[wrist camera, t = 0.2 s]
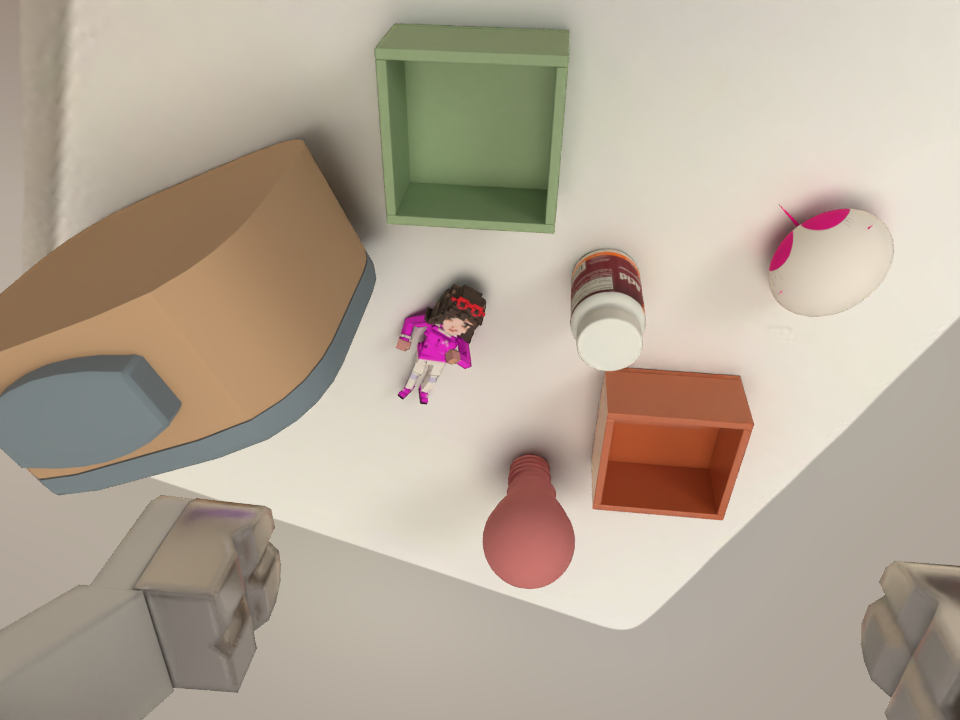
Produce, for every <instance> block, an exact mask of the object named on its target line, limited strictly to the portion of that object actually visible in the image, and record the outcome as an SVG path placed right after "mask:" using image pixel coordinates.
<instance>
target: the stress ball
mask: <svg viewBox="0 0 960 720" xmlns="http://www.w3.org/2000/svg"><path fill="white" fill-rule="evenodd" d="M780 207H781V206H780ZM781 208H782V207H781ZM782 209H783V208H782ZM783 210H784V209H783ZM784 211H785V210H784ZM785 213H786V214H787V215H788V216H789V218H790V219H791V220H792V221H793V223H794V224H795V225H796V226H797V227H796V228H795V229H794V230H793V231H791V232H790V233H789V234H788V235H787V236H786V237H785V239H784V240H783V241H782V242H781V244H780V245H779V247H778V248H777V250H776V252H775V253H774V256H773V258H772V260H771V264H770V268H769V286H770V289H771V292H772V294H773V296H774V297H775V299H776V300H777V302H778V303H779V304H780V305H781V306H783V307H784V308H785V309H787V310H789V311H790V312H793V313H795V314H799V315H803V316H809V317H820V316H828V315H833V314H836V313H839V312H842V311H845V310H847V309H849V308H851V307H853V306H855V305H857V304H858V303H860V302H861V301H863V300H864V299H865V298H867V297H868V296H869V295H870V294H871V293H873V292H874V291H875V289H876V288H877V287H878V286H879V285H880V284H881V282H882V281H883V280H884V278H885V276H886V275H887V273H888V271H889V269H890V266H891V263H892V260H893V254H894V244H893V238H892V235H891V233H890V231H889V229H888V227H887V226H886V225H885V223H884V222H883V221H882V220H881V219H879V218H878V217H876V216H875V215H873V214H871V213H869V212H866V211H862V210H857V209H837V210H832V211H828V212H824V213H822V214H819V215H816V216H814V217H812V218H810V219H808V220H807V221H805V222H803V223H802V224H799V223H798V222H797V221H796V220H795V219H794V218H793V217H792V216H791V215H790V214H788V213H787V212H786V211H785Z"/></svg>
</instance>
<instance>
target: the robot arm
mask: <svg viewBox="0 0 960 720" xmlns="http://www.w3.org/2000/svg"><path fill="white" fill-rule="evenodd" d="M274 528H275V526H274V521H273V516H272V511H271V509H270V508H268V507H266V506H260V505H251V504H242V503H233V502H224V501H215V500H207V499H198V498H196V499H190V498H182V497H173V496H165V495H160V496H159V497H157V498H155V499H154V500H152V501H151V502H150V503H149V504H148V506H147V507H146V509H145V510H144V511H143V513H142V514H141V515H140V517H139V518H138V519H137V521H136V522H135V524H134V525H133V527H132V528H131V529H130V530H129V532H128V533H127V535H126V536H125V537H124V539H123V540H122V542H121V543H120V544H119V546H118V547H117V549H116V550H115V551H114V553H113V554H112V556H111V557H110V558H109V560H108V561H107V562H106V564H105V565H104V567H103V568H102V569H101V571H100V572H99V573H98V575H97V576H96V578H95V579H94V581H93V582H92V583H91V585H90V586H88V585H78V586H76V587H74V588H72V589H71V590H69V591H67V592H65V593H64V594H62V595H60V596H59V597H57V598H55V599H53V600H52V601H50V602H48V603H46V604H45V605H43V606H42V607H39V608H38V609H36V610H34V611H33V612H31V613H29V614H27V615H26V616H24V617H22V618H20V619H19V620H17V621H15V622H14V623H12V624H10V625H8V626H7V627H5V628H3V629H1V630H0V720H142V719H144V718H145V717H146V716H147V715H148V714H149V713H150V712H151V711H152V710H154V709H155V708H156V707H157V706H158V705H159V704H160V703H161V702H163V701H164V700H165V699H166V698H167V697H168V696H169V695H170V694H172V693H173V691H174V690H173V688H185V689H199V690H211V691H223V692H224V691H225V692H236V693H237V692H238V691H239V689H240V686H241V684H242V682H243V679H244V677H245V675H246V672H247V670H248V668H249V665H250V663H251V661H252V658H253V656H254V653H255V651H256V649H257V647H256V642H255V637H254V631H255V630H256V629H257V628H259V627H260V626H261V625H263V624H264V623H265V622H267V621H268V620H269V618H270V616H271V613H272V611H273V608H274V606H275V603H276V599H277V595H278V589H279V585H280V580H281V563H280V555H279V551H278V550H277V549H276V548H275V547H274V546H273V545H272V544H271V543H270V542H269V539H270V537H271V535H272V533H273V530H274ZM879 582H880V584H881V587H882V589H883V591H884V593H885V596H883V597H882V598H880V599H878V600H877V601H875V602H874V603H872V604H871V605H869V606H868V609H867V611H866V614H865V616H864V619H863V621H862V627H861V648H862V653H863V658H864V662H865V665H866V667H867V670H868V672H869V675H870V678H871V680H872V681H873V682H874V683H875V684H877V685H878V686H879V687H880V688H881V689H882V690H883V691H884V692H885V693H886V694H888V695H889V696H890V697H891V698H890V701H889V704H888V706H887V708H886V710H885V715H886V717H887V720H960V566H953V565H940V564H927V563H914V562H902V561H893V562H892V563H891V564H890V565H888V566H887V567H886V568H885V570H884V572H883V574H882V577H881V579H880V581H879Z"/></svg>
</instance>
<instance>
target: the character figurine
mask: <svg viewBox="0 0 960 720" xmlns="http://www.w3.org/2000/svg"><path fill="white" fill-rule="evenodd" d="M485 305H486V300H485V299H484V298H482V293H480V292H478V291H476V290H474V289H472V288H470V287H468V286H466V285H464V286H462V287H460V286H458V285H456V284H454V285H453V287H452V288H451V290H449V289H448V290H447V292H445V293H444V295H443V296H442V297H441V299H440V300H439V302H438V303H437V304H436V306H435V307H434V308H433V309H431V308H429V307H428V308H427V311H426V314H424V315H418V316H412V317H408V318H406V319H405V322H404V325H403V328H402V331H401V334H400V333H399V334H398V336H400V337H399V340H398V343H397V345H396V348H397V349H400V350H403V351H406V350H407V349H408V350H409V349H410V346H411V343H412V342H409V340H412V337H410V336H411V333H412V330H413V327H414V326H415V327H418V328H419V327H426V326H428V327H427V329H426V330H425V332H424V334H425V335H426V336H427V337H426V338H425V340H424V341H423V342H421V343H420V342H419V343H418V345H417V351H416V364H415V366H414V369H413V371H412V373H411V375H410V378H409V380H408V382H407V384H406V385H405V387H404V388H403V389H402V390H401V391H400V392H399V394H398V396H399V397H400V398H401V399H404V398H405V397H406V396H407V395H408V394H409V393H410V392H411V391H412V390H413V389H414V387H415V386H414V385H415V383H416V380H417V378H418V376H419V375H421V374H422V372H423V370H424V368H425V366H426V364H428V365H429V372H428V373H427V375H426V376H425V380H424V381H423V382H422V384H421V385H420V387H419V398H420V404H427V403H428V392H429V391H430V389H431V388H432V386H433V385H434V384H435V382H436V380H437V378H438V377H439V375H440V372H441V370H442V368H443V367H444V365H445V363H449V364H453V363H454V364H458V365H460V366H461V367H463V368H464V369H466V368H469V367H471V366H472V365H471V357H470V350H469V344H470V342H471V338H472V336H473V334H474V330H475V329H476V328H477V327H478V326H479V325H480V326H481V325H482V322H483V317H484V316H485V309H486V306H485ZM457 345H458V350H459V351H457V350H455V348H456V347H457ZM448 350H449V351H448Z"/></svg>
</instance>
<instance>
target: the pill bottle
mask: <svg viewBox="0 0 960 720" xmlns="http://www.w3.org/2000/svg"><path fill="white" fill-rule="evenodd" d="M570 325H571V330H572V333H573V336H574V338H575V339H576V341H577V350H578V353H579V355H580V357H581V359H582V360H583V361H584V362H585V363H586V364H587V365H589V366H591V367H593V368H595V369H598V370H602V371H616V370H620V369H623V368H625V367H627V366H629V365H631V364H632V363H633V362H634V361H635V360H636V359H637V358H638V357H639V355H640V353H641V350H642V345H643V340H642V335H643V333H644V331H645V326H646V317H645V309H644V302H643V295H642V288H641V281H640V274H639V270H638V268H637V266H636V264H635V262H634V261H633V260H632V259H631V258H630V257H629V256H628V255H626V254H625V253H623V252H620V251H617V250H612V249H602V250H597V251H594V252H591V253H589V254H587V255H585V256H584V257H583V258H582V259H581V260H580V261H579V262H578V263H577V264H576V266H575V268H574V270H573V273H572V279H571V320H570Z"/></svg>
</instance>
